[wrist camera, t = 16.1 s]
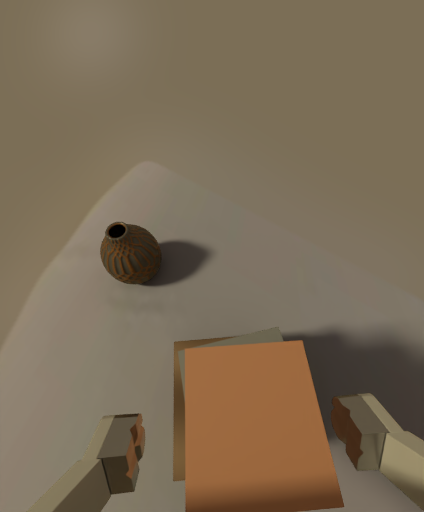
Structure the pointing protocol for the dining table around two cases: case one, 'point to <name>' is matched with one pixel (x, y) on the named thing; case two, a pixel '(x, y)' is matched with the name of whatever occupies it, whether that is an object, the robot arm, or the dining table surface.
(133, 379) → the dining table surface
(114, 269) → the vase
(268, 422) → the terracotta block
